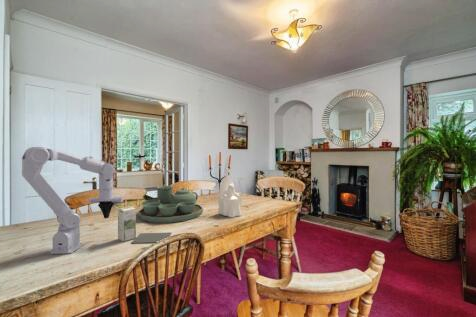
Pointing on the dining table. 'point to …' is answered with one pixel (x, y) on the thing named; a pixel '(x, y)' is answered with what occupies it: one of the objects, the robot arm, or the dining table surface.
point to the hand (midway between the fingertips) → (106, 217)
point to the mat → (150, 237)
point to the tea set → (170, 206)
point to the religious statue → (229, 197)
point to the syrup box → (126, 223)
